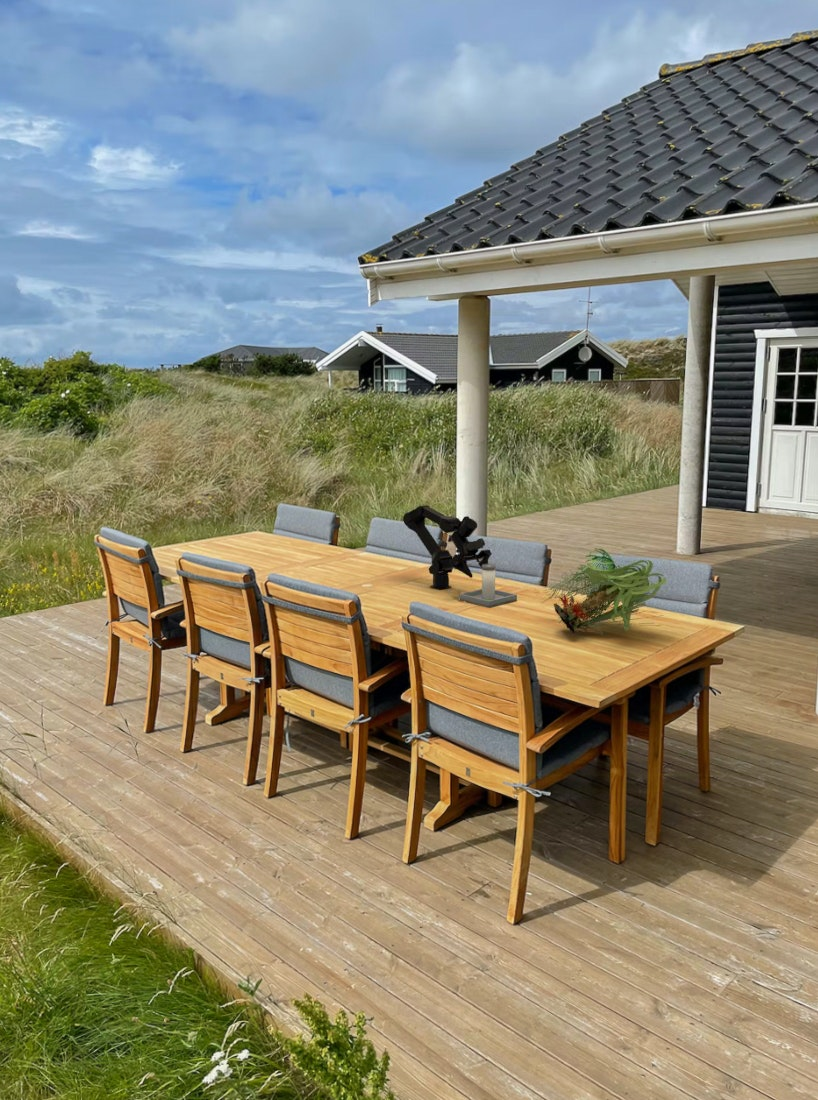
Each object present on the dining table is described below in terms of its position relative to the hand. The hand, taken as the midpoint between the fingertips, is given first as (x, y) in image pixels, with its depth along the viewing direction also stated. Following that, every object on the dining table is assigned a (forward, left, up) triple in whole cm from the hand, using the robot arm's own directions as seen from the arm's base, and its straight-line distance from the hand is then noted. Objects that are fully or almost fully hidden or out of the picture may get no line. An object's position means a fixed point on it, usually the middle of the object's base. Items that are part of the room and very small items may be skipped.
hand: (480, 575), depth 344 cm
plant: (+58, -3, -10) cm, 58 cm away
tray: (+5, 0, -9) cm, 10 cm away
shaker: (+5, 0, -8) cm, 10 cm away
